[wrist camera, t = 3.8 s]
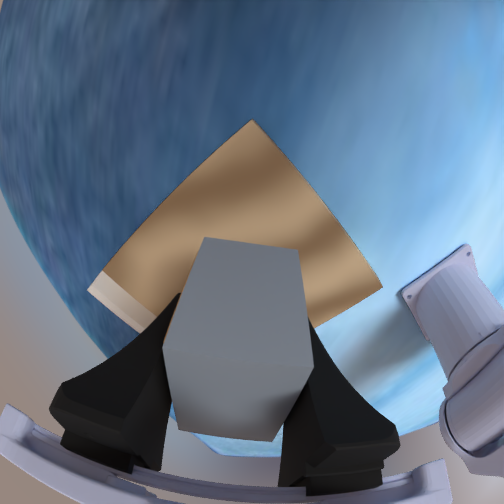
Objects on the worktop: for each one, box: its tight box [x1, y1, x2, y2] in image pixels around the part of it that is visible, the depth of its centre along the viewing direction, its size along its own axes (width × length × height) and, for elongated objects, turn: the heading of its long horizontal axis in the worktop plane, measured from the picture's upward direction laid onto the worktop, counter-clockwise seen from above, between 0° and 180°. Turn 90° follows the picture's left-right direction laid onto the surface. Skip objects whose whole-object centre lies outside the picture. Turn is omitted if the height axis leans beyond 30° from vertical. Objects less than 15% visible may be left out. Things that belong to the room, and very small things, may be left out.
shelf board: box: [102, 119, 383, 328], centre depth 22 cm, size 16×18×1 cm
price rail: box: [88, 271, 157, 333], centre depth 24 cm, size 16×1×2 cm, turn 41°
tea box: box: [162, 237, 314, 442], centre depth 11 cm, size 6×4×6 cm
